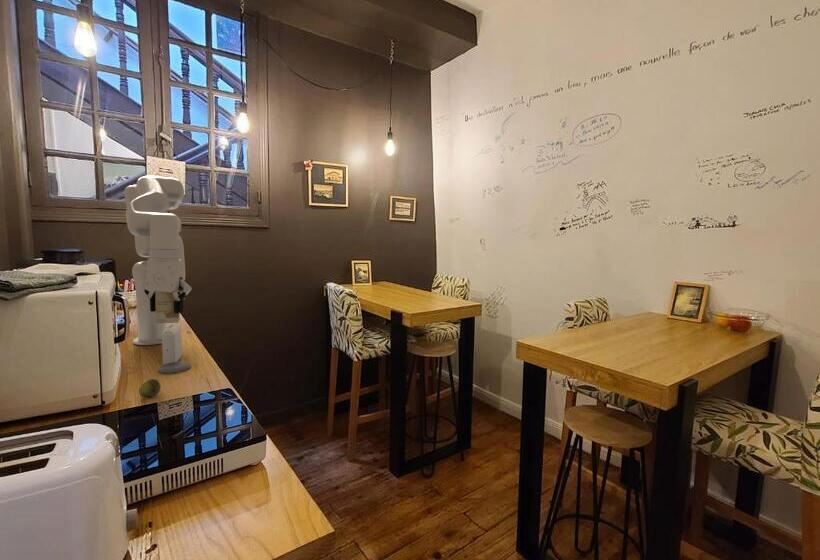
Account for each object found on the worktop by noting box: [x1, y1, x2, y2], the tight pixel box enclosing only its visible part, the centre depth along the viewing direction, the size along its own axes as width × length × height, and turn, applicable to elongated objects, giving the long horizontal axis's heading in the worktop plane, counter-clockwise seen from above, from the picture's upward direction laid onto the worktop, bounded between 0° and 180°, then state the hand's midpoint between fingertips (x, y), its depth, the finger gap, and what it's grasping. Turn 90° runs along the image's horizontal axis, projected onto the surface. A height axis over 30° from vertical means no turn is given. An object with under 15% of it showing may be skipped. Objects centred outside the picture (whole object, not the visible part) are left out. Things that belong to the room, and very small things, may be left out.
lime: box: [138, 378, 161, 399], centre depth 107 cm, size 4×5×5 cm
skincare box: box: [155, 287, 181, 324], centre depth 124 cm, size 6×4×12 cm
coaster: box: [157, 361, 192, 375], centre depth 128 cm, size 9×9×1 cm
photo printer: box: [161, 323, 183, 365], centre depth 136 cm, size 10×4×12 cm, turn 17°
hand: (166, 311), depth 124 cm, fingers closed on skincare box, 7 cm apart
